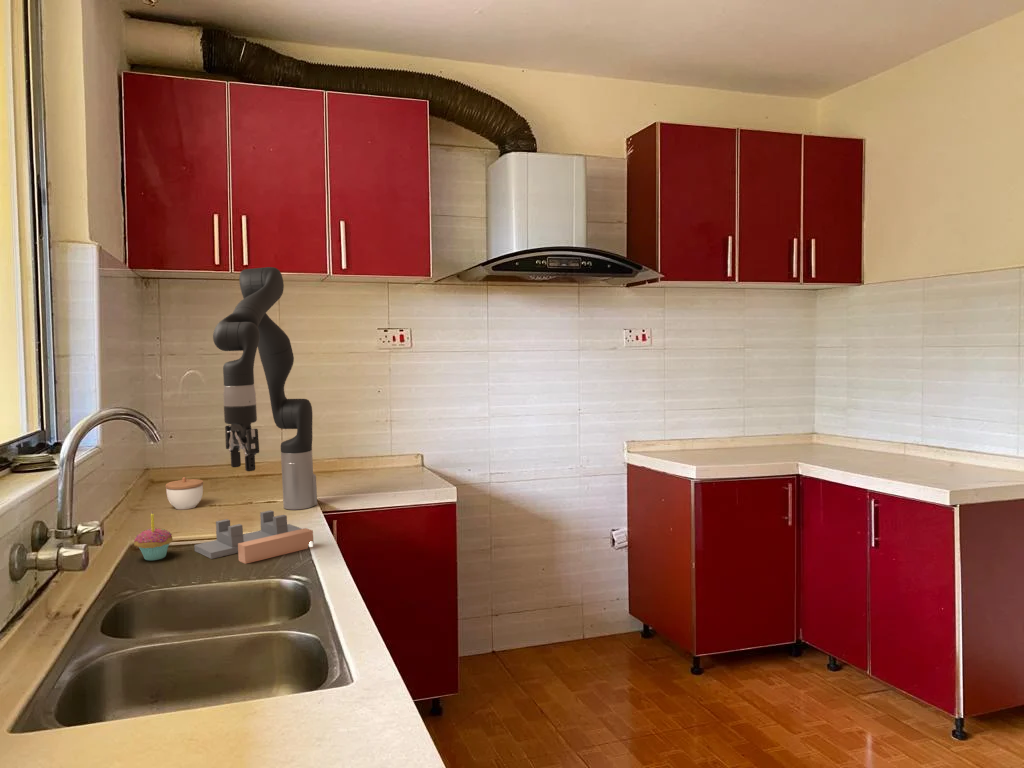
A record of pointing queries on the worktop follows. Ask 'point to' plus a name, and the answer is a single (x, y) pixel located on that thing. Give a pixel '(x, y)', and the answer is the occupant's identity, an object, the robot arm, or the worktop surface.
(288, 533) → the clay strip
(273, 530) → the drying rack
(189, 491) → the lidded jar
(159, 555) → the cupcake
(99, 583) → the worktop surface
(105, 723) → the worktop surface
